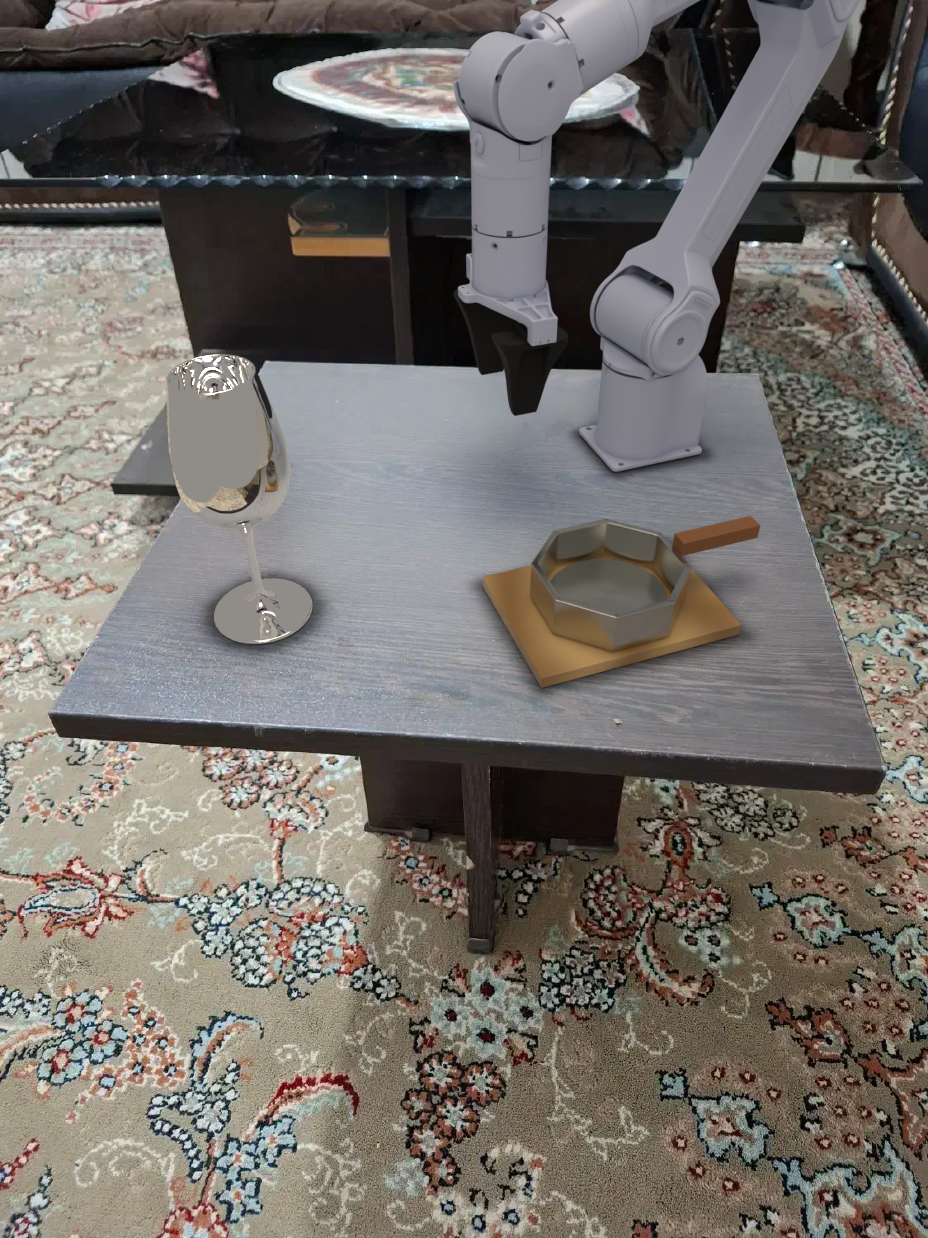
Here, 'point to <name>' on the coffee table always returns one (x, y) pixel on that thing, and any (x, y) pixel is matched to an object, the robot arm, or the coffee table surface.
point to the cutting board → (576, 659)
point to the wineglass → (234, 481)
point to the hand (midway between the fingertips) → (506, 391)
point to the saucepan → (621, 579)
